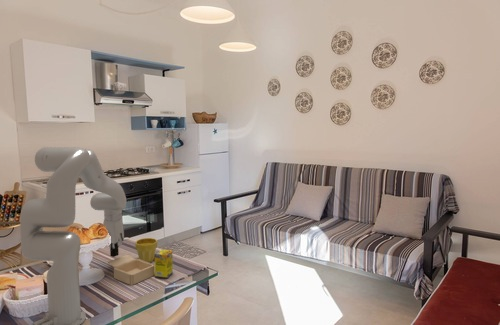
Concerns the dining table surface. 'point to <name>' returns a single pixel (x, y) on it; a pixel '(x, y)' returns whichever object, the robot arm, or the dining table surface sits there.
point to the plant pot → (146, 249)
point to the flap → (121, 260)
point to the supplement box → (163, 264)
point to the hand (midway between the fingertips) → (114, 255)
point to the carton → (134, 271)
